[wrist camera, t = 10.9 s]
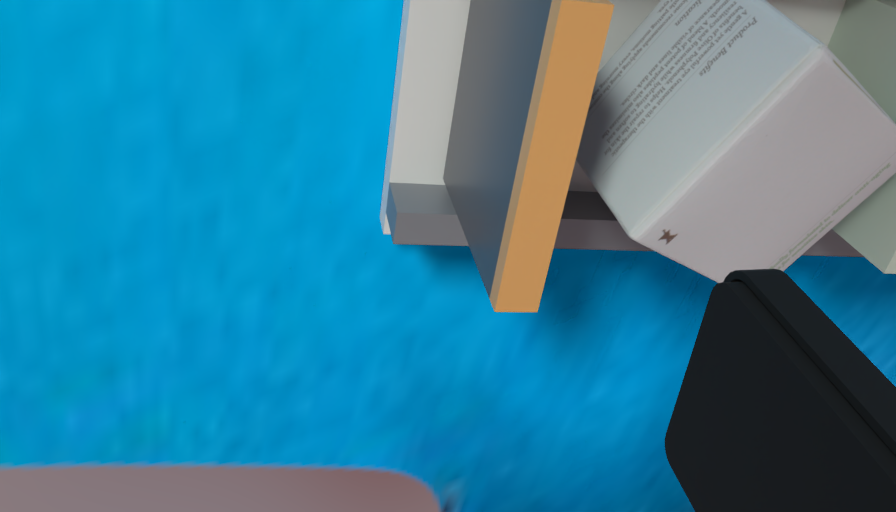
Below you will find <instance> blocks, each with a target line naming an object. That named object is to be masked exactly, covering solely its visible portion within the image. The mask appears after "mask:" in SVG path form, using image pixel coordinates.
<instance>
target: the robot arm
mask: <svg viewBox="0 0 896 512" xmlns="http://www.w3.org/2000/svg"><path fill="white" fill-rule="evenodd" d="M665 450H666V455H667V459H668V461H669V464H670V466H671V468H672V470H673V471H674V473H675V475H676V477H677V479H678V481H679V482H680V484H681V486H682V488H683V490H684V492H685V493H686V495H687V497H688V499H689V501H690V502H691V504H692V506H693V508H694V510H695V512H896V387H895V386H894V385H893V384H892V383H891V382H890V381H889V380H888V379H887V378H886V377H885V376H884V375H883V374H882V372H881V371H880V370H879V369H878V368H877V367H876V366H875V365H874V364H873V363H872V362H871V361H870V360H869V359H868V358H867V357H866V356H865V355H864V354H863V353H862V352H861V351H860V350H859V349H858V348H857V347H856V346H855V345H854V344H853V342H852V341H851V340H850V339H849V338H848V337H847V336H846V335H845V334H844V333H843V332H842V331H841V330H840V329H839V328H838V327H837V326H836V325H835V324H834V323H833V322H832V321H831V320H830V319H829V318H828V317H827V316H826V315H825V314H824V312H823V311H822V310H821V309H820V308H819V307H818V306H817V305H816V304H815V303H814V302H813V301H812V300H811V299H810V298H809V297H808V296H807V295H806V294H805V293H804V292H803V291H802V290H801V289H800V288H799V287H798V286H797V285H796V284H795V282H794V281H793V280H792V279H791V278H790V277H789V276H788V275H787V274H785V273H784V272H783V271H781V270H778V269H754V270H735V271H732V272H730V273H729V274H728V275H727V276H726V277H725V279H724V281H723V282H721V283H718V284H717V285H716V286H715V287H714V288H713V290H712V292H711V295H710V298H709V301H708V304H707V307H706V310H705V314H704V317H703V320H702V323H701V326H700V329H699V332H698V335H697V339H696V342H695V345H694V348H693V351H692V354H691V357H690V360H689V364H688V367H687V370H686V373H685V376H684V379H683V382H682V385H681V389H680V392H679V395H678V398H677V401H676V404H675V407H674V411H673V414H672V417H671V420H670V423H669V426H668V429H667V432H666V437H665Z"/></svg>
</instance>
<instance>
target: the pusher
mask: <svg viewBox="0 0 896 512" xmlns="http://www.w3.org/2000/svg"><path fill="white" fill-rule="evenodd" d="M613 9H614V4H612V3H611V2H610V1H608V0H471V1H470V8H469V14H468V21H467V27H466V33H465V40H464V46H463V53H462V59H461V66H460V72H459V78H458V85H457V91H456V98H455V104H454V111H453V117H452V124H451V130H450V136H449V143H448V149H447V156H446V162H445V169H444V175H443V180H444V183H445V185H446V188H447V191H448V193H449V196H450V198H451V201H452V203H453V206H454V209H455V211H456V214H457V216H458V219H459V221H460V224H461V227H462V229H463V232H464V234H465V237H466V239H467V242H468V245H469V247H470V250H471V252H472V255H473V257H474V260H475V263H476V265H477V268H478V270H479V273H480V275H481V278H482V281H483V283H484V286H485V288H486V291H487V293H488V296H489V299H490V301H491V304H492V306H493V309H494V311H495V312H538V308H539V304H540V300H541V296H542V292H543V288H544V284H545V280H546V276H547V272H548V268H549V264H550V260H551V256H552V252H553V248H554V244H555V240H556V236H557V232H558V228H559V224H560V220H561V216H562V212H563V208H564V204H565V200H566V196H567V192H568V188H569V184H570V180H571V177H572V173H573V169H574V165H575V161H576V157H577V153H578V149H579V145H580V141H581V137H582V133H583V129H584V125H585V121H586V117H587V113H588V109H589V105H590V101H591V97H592V93H593V89H594V85H595V81H596V77H597V73H598V69H599V65H600V61H601V57H602V53H603V49H604V45H605V41H606V37H607V33H608V29H609V25H610V21H611V17H612V13H613Z"/></svg>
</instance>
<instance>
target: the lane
mask: <svg viewBox="0 0 896 512" xmlns="http://www.w3.org/2000/svg"><path fill="white" fill-rule="evenodd" d="M470 1H471V0H404V5H403V14H402V23H401V32H400V41H399V50H398V59H397V68H396V77H395V86H394V95H393V104H392V113H391V122H390V131H389V140H388V148H387V157H386V166H385V175H384V184H383V193H382V202H381V211H380V221H381V225H382V230H383V234H391V236H392V241H393V244H415V245H451V246H469V245H468V242H467V239H466V237H465V234H464V232H463V229H462V227H461V224H460V221H459V219H458V216H457V214H456V211H455V209H454V206H453V203H452V201H451V198H450V196H449V193H448V191H447V188H446V185H445V183H444V180H443V175H444V169H445V162H446V156H447V149H448V143H449V136H450V130H451V124H452V117H453V111H454V104H455V98H456V91H457V85H458V78H459V72H460V66H461V59H462V53H463V46H464V40H465V33H466V27H467V21H468V14H469V8H470ZM608 1H610V2H611V3H612V4H614V9H613V13H612V17H611V21H610V25H609V29H608V33H607V37H606V41H605V45H604V49H603V53H602V57H601V61H600V65H599V69H598V72H599V71H600V70H601V69H602V68H603V67H604V65H605V64H606V63H607V62H608V61H609V60H610V58H611V57H612V56H613V55H614V54H615V53H616V52H617V50H618V49H619V48H620V47H621V46H622V45H623V43H624V42H625V41H626V40H627V39H628V38H629V37H630V35H631V34H632V33H633V32H634V31H635V30H636V28H637V27H638V26H639V25H640V24H641V23H642V22H643V21H644V19H645V18H646V17H647V16H648V15H649V13H650V12H651V11H652V10H653V9H654V8H655V7H656V5H657V4H658V3H659V2H660V1H661V0H608ZM766 1H767V2H768V3H770V4H771V5H772V6H774V7H775V8H776V9H778V10H779V11H780V12H782V13H783V14H784V15H786V16H787V17H788V18H790V19H791V20H792V21H794V22H795V23H796V24H798V25H799V26H800V27H801V28H803V29H804V30H806V31H807V32H808V33H810V34H811V35H813V36H814V37H815V38H817V39H818V40H820V41H821V42H822V43H824V44H825V45H826V46H827V47H828V44H829V42H830V39H831V37H832V34H833V32H834V29H835V27H836V24H837V22H838V19H839V17H840V14H841V12H842V9H843V7H844V4H845V2H846V0H766ZM554 248H559V249H595V250H631V251H654V250H652V249H650V248H648V247H646V246H644V245H642V244H640V243H638V242H636V241H634V240H632V239H631V238H629V237H628V235H627V234H626V233H625V231H624V230H623V228H622V227H621V225H620V223H619V222H618V220H617V219H616V217H615V216H614V214H613V213H612V212H611V210H610V209H609V207H608V206H607V204H606V203H605V202H604V200H603V199H602V197H601V196H600V194H599V193H598V192H597V190H596V189H595V187H594V186H593V184H592V183H591V181H590V180H589V178H588V177H587V176H586V174H585V173H584V171H583V170H582V168H581V167H580V165H579V164H578V162H577V161H575V165H574V169H573V173H572V177H571V180H570V184H569V188H568V192H567V196H566V200H565V204H564V208H563V212H562V216H561V220H560V224H559V228H558V232H557V236H556V240H555V244H554ZM802 255H811V256H847V257H864V256H863V255H862V254H861V253H859V252H858V251H857V250H856V249H855V248H854V247H852V246H851V245H850V244H849V243H848V242H847V241H845V240H844V239H843V238H842V237H841V236H840V235H838V234H837V233H836V232H835V231H834V230H833V229H831V230H830V231H828V232H827V233H826V234H825V235H824V236H823V237H822V238H820V239H819V240H818V241H817V242H816V243H815V244H814V245H812V246H811V247H810V248H809V249H808V250H807V251H806V252H805V253H803V254H802Z"/></svg>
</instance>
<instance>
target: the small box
mask: <svg viewBox="0 0 896 512" xmlns="http://www.w3.org/2000/svg"><path fill="white" fill-rule="evenodd" d="M576 161H577V162H578V164H579V165H580V167H581V168H582V170H583V171H584V173H585V174H586V176H587V177H588V178H589V180H590V181H591V183H592V184H593V186H594V187H595V189H596V190H597V192H598V193H599V194H600V196H601V197H602V199H603V200H604V202H605V203H606V204H607V206H608V207H609V209H610V210H611V212H612V213H613V214H614V216H615V217H616V219H617V220H618V222H619V223H620V225H621V227H622V228H623V230H624V231H625V233H626V234H627V235H628V237H629V238H631V239H632V240H634V241H636V242H638V243H640V244H642V245H644V246H646V247H648V248H650V249H652V250H654V251H656V252H658V253H660V254H661V255H663V256H666V257H668V258H670V259H671V260H674V261H676V262H677V263H680V264H682V265H684V266H686V267H688V268H690V269H692V270H694V271H696V272H698V273H700V274H702V275H704V276H706V277H708V278H710V279H712V280H714V281H716V282H718V283H721V282H723V281H724V279H725V277H726V276H727V275H728V274H729V273H730V272H732V271H735V270H754V269H778V270H781V271H784V270H785V269H786V268H788V267H789V266H790V265H791V264H792V263H793V262H794V261H796V260H797V259H798V258H799V257H800V256H801V255H802V254H803V253H805V252H806V251H807V250H808V249H809V248H810V247H811V246H812V245H814V244H815V243H816V242H817V241H818V240H819V239H820V238H822V237H823V236H824V235H825V234H826V233H827V232H828V231H830V230H831V229H832V228H833V227H834V226H835V225H836V224H838V223H839V222H840V221H841V220H842V219H843V218H844V217H845V216H847V215H848V214H849V213H850V212H851V211H852V210H853V209H855V208H856V207H857V206H858V205H859V204H860V203H862V202H863V201H864V200H865V199H866V198H867V197H869V196H870V195H871V194H872V193H873V192H874V191H875V190H876V189H878V188H879V187H880V186H881V185H882V184H883V183H884V182H886V181H887V180H888V179H889V178H890V177H891V176H893V175H894V174H895V173H896V124H895V123H894V122H893V120H892V119H891V118H890V117H889V116H888V115H887V114H886V112H885V111H884V110H883V109H882V108H881V107H880V106H879V104H878V103H877V102H876V101H875V100H874V99H873V98H872V96H871V95H870V94H869V93H868V92H867V91H866V90H865V88H864V87H863V86H862V85H861V84H860V83H859V82H858V80H857V79H856V78H855V77H854V76H853V75H852V74H851V72H850V71H849V70H848V69H847V68H846V67H845V66H844V65H843V64H842V63H841V61H840V60H839V59H838V58H837V57H836V56H835V55H834V54H833V53H832V52H831V51H830V49H829V48H828V47H827V46H826V45H825V44H824V43H822V42H821V41H820V40H818V39H817V38H815V37H814V36H813V35H811V34H810V33H808V32H807V31H806V30H804V29H803V28H801V27H800V26H799V25H798V24H796V23H795V22H794V21H792V20H791V19H790V18H788V17H787V16H786V15H784V14H783V13H782V12H780V11H779V10H778V9H776V8H775V7H774V6H772V5H771V4H770V3H768V2H767V1H766V0H661V1H660V2H659V3H658V4H657V5H656V7H655V8H654V9H653V10H652V11H651V12H650V13H649V15H648V16H647V17H646V18H645V19H644V21H643V22H642V23H641V24H640V25H639V26H638V27H637V28H636V30H635V31H634V32H633V33H632V34H631V35H630V37H629V38H628V39H627V40H626V41H625V42H624V43H623V45H622V46H621V47H620V48H619V49H618V50H617V52H616V53H615V54H614V55H613V56H612V57H611V58H610V60H609V61H608V62H607V63H606V64H605V65H604V67H603V68H602V69H601V70H600V71H599V72H598V73H597V77H596V81H595V85H594V89H593V93H592V97H591V101H590V105H589V109H588V113H587V117H586V121H585V125H584V129H583V133H582V137H581V141H580V145H579V149H578V153H577V157H576Z"/></svg>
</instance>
